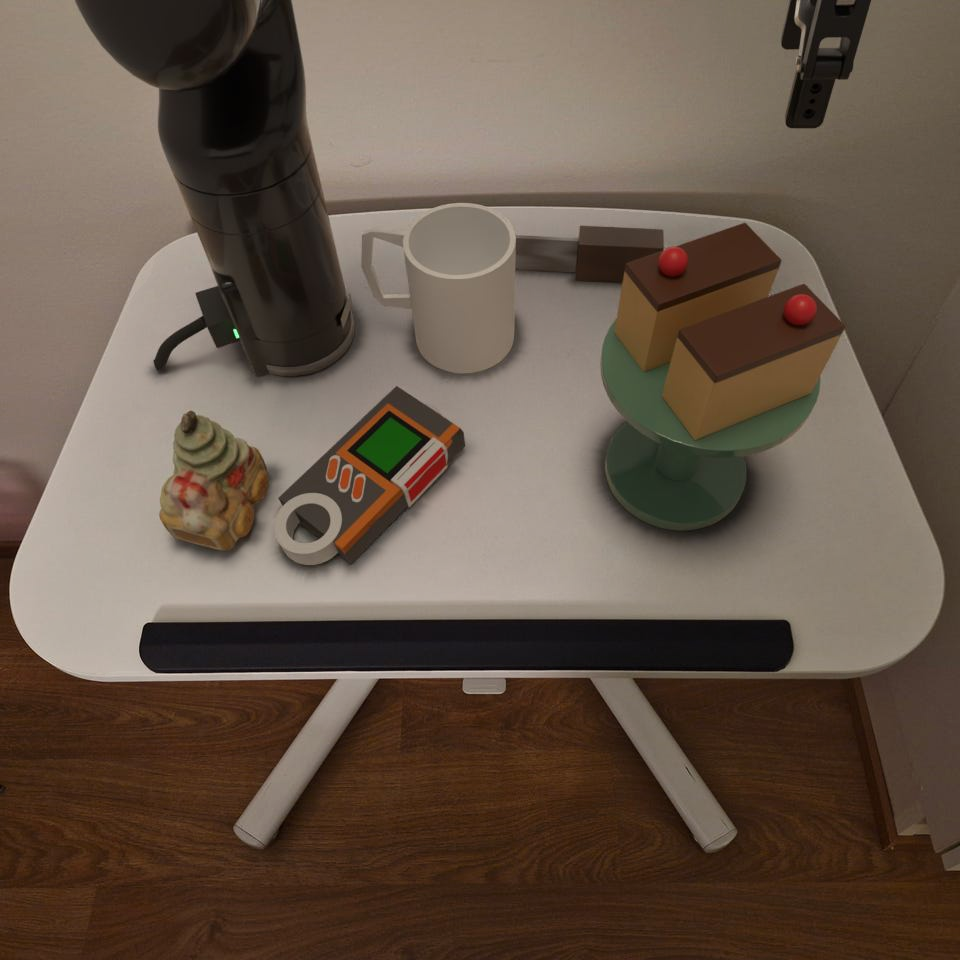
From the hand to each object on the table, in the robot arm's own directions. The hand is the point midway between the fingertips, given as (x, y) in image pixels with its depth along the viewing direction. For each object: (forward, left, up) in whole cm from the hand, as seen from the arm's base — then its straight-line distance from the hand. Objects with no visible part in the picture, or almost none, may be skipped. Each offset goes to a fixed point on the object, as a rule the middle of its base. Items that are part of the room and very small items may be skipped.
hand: (799, 84), depth 51 cm
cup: (-24, +7, -19) cm, 31 cm away
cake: (-14, -13, -7) cm, 20 cm away
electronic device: (-35, -5, -19) cm, 40 cm away
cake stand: (-14, -13, -19) cm, 27 cm away
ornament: (-45, -2, -19) cm, 49 cm away
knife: (-11, +9, -19) cm, 23 cm away
